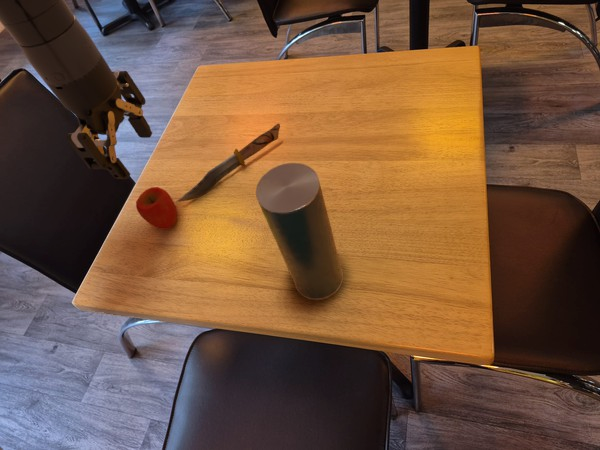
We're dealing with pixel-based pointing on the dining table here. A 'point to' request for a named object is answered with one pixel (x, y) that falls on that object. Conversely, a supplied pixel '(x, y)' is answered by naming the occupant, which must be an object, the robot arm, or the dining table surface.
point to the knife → (231, 164)
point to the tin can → (301, 228)
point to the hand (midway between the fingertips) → (135, 156)
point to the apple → (157, 208)
